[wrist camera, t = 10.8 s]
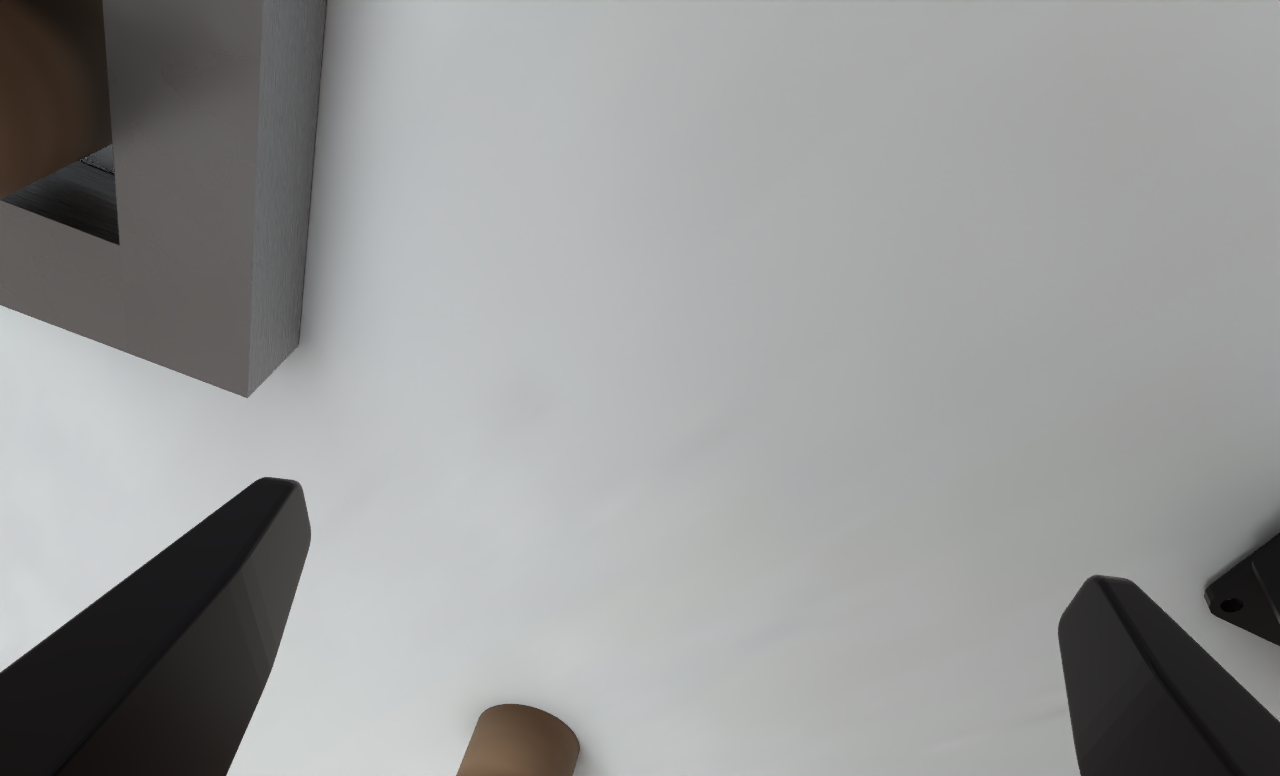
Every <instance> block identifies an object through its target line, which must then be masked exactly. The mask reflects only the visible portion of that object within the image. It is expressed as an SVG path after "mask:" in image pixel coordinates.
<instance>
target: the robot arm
mask: <svg viewBox="0 0 1280 776" xmlns="http://www.w3.org/2000/svg"><path fill="white" fill-rule="evenodd" d="M310 541H311V527H310V522H309V517H308V512H307V507H306V502H305V498H304V493H303V489H302V486H301V485H300V483H299V482H297V481H295V480H289V479H281V478H272V477H264V478H261V479H259V480H257V481H255V482H254V483H252V484H251V485H250V486H248V487H247V488H246V489H244V490H243V491H242V492H240V493H239V494H238V495H236V496H235V497H234V498H232V499H231V500H230V501H228V502H227V503H226V504H224V505H223V506H222V507H220V508H219V509H218V510H216V511H215V512H214V513H212V514H211V515H210V516H208V517H207V518H206V519H204V520H203V521H202V522H200V523H199V524H198V525H196V526H195V527H194V528H192V529H191V530H190V531H188V532H187V533H186V534H184V535H183V536H182V537H180V538H179V539H178V540H176V541H175V542H174V543H172V544H171V545H170V546H168V547H167V548H166V549H164V550H163V551H162V552H160V553H159V554H158V555H156V556H155V557H154V558H152V559H151V560H150V561H148V562H147V563H146V564H144V565H143V566H142V567H140V568H139V569H138V570H136V571H135V572H134V573H132V574H131V575H130V576H128V577H127V578H126V579H124V580H123V581H122V582H120V583H119V584H118V585H116V586H115V587H114V588H112V589H111V590H110V591H108V592H107V593H106V594H104V595H103V596H102V597H100V598H99V599H98V600H96V601H95V602H94V603H92V604H91V605H90V606H88V607H87V608H86V609H84V610H83V611H82V612H80V613H79V614H78V615H76V616H75V617H74V618H72V619H71V620H70V621H68V622H67V623H66V624H64V625H63V626H62V627H60V628H59V629H58V630H56V631H55V632H54V633H52V634H51V635H50V636H48V637H47V638H46V639H44V640H43V641H42V642H40V643H39V644H38V645H36V646H35V647H34V648H32V649H31V650H30V651H28V652H27V653H26V654H24V655H23V656H22V657H20V658H19V659H18V660H16V661H15V662H14V663H12V664H11V665H10V666H8V667H7V668H6V669H4V670H3V671H2V672H0V776H226V775H227V773H228V770H229V768H230V766H231V763H232V761H233V759H234V756H235V754H236V752H237V750H238V747H239V745H240V743H241V740H242V738H243V736H244V734H245V731H246V729H247V727H248V724H249V722H250V720H251V718H252V715H253V713H254V711H255V708H256V706H257V704H258V701H259V699H260V697H261V695H262V692H263V690H264V687H265V685H266V682H267V680H268V678H269V675H270V673H271V670H272V667H273V664H274V661H275V658H276V655H277V652H278V648H279V645H280V642H281V639H282V635H283V632H284V629H285V626H286V622H287V619H288V616H289V612H290V609H291V606H292V603H293V599H294V596H295V593H296V590H297V586H298V583H299V580H300V576H301V573H302V570H303V567H304V563H305V560H306V557H307V553H308V550H309V546H310ZM1204 597H1205V599H1206V602H1207V604H1208V606H1209V609H1210V611H1211V613H1213V614H1214V615H1215V616H1217V617H1219V618H1221V619H1223V620H1225V621H1227V622H1230V623H1232V624H1234V625H1236V626H1238V627H1240V628H1242V629H1244V630H1247V631H1249V632H1251V633H1253V634H1255V635H1257V636H1259V637H1262V638H1264V639H1266V640H1268V641H1270V642H1272V643H1274V644H1277V645H1279V646H1280V533H1279V534H1278V535H1277V536H1275V537H1274V538H1273V539H1271V540H1270V541H1269V542H1267V543H1266V544H1265V545H1263V546H1262V547H1261V548H1259V549H1258V550H1257V551H1255V552H1254V553H1253V554H1251V555H1250V556H1249V557H1247V558H1246V559H1245V560H1243V561H1242V562H1241V563H1239V564H1238V565H1237V566H1235V567H1234V568H1233V569H1231V570H1230V571H1229V572H1227V573H1226V574H1225V575H1223V576H1222V577H1220V578H1219V579H1218V580H1216V581H1215V582H1214V583H1212V584H1211V585H1210V586H1209V587H1208V588H1207V589H1206V590H1205V594H1204ZM1227 599H1231V600H1227ZM1058 638H1059V645H1060V652H1061V658H1062V665H1063V672H1064V678H1065V685H1066V692H1067V698H1068V705H1069V711H1070V718H1071V725H1072V731H1073V738H1074V744H1075V750H1076V755H1077V760H1078V765H1079V769H1080V774H1081V776H1280V722H1279V721H1278V720H1277V719H1276V718H1275V717H1274V716H1273V715H1272V714H1271V713H1270V712H1269V711H1268V710H1267V709H1265V708H1264V707H1263V706H1262V705H1261V704H1260V703H1259V702H1258V701H1257V700H1256V699H1255V698H1254V697H1253V696H1252V695H1251V694H1250V693H1249V692H1248V691H1247V690H1246V689H1245V688H1244V687H1243V686H1242V685H1240V684H1239V683H1238V682H1237V681H1236V680H1235V679H1234V678H1233V677H1232V676H1231V675H1230V674H1229V673H1228V672H1227V671H1226V670H1225V669H1224V668H1223V667H1222V666H1221V665H1220V664H1219V663H1218V662H1217V661H1215V660H1214V659H1213V658H1212V657H1211V656H1210V655H1209V654H1208V653H1207V652H1206V651H1205V650H1204V649H1203V648H1202V647H1201V646H1200V645H1199V644H1198V643H1197V642H1196V641H1195V640H1194V639H1193V638H1192V637H1190V636H1189V635H1188V634H1187V633H1186V632H1185V631H1184V630H1183V629H1182V628H1181V627H1180V626H1179V625H1178V624H1177V623H1176V622H1175V621H1174V620H1173V619H1172V618H1171V617H1170V616H1169V615H1168V614H1167V613H1165V612H1164V611H1163V610H1162V609H1161V608H1160V607H1159V606H1158V605H1157V604H1156V603H1155V602H1154V601H1153V600H1152V599H1151V598H1150V597H1149V596H1148V595H1147V594H1146V593H1145V592H1144V591H1143V590H1142V589H1140V588H1139V587H1138V586H1137V585H1136V584H1135V583H1134V582H1132V581H1130V580H1128V579H1125V578H1119V577H1111V576H1103V575H1093V576H1092V577H1090V578H1088V579H1087V580H1086V581H1085V582H1084V584H1083V585H1082V587H1081V588H1080V589H1079V591H1078V592H1077V594H1076V595H1075V597H1074V598H1073V600H1072V601H1071V603H1070V604H1069V605H1068V607H1067V608H1066V610H1065V611H1064V613H1063V614H1062V616H1061V619H1060V622H1059V627H1058Z"/></svg>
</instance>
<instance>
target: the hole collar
mask: <svg viewBox="0 0 1280 776" xmlns="http://www.w3.org/2000/svg"><path fill="white" fill-rule="evenodd" d="M102 1H103V16H104V30H105V44H106V58H107V72H108V86H109V100H110V114H111V129H112V143H113V157H114V171H115V175H113V174H110V173H108V172H105V171H102V170H100V169H97V168H95V167H92V166H89V165H87V164H84V163H81V162H79V161H76V162H74V163H72V164H70V165H68V166H66V167H64V168H62V169H60V170H58V171H56V172H54V173H52V174H50V175H48V176H46V177H44V178H42V179H40V180H38V181H36V182H34V183H32V184H30V185H28V186H26V187H24V188H22V189H20V190H18V191H16V192H14V193H12V194H10V195H8V196H6V197H4V198H2V199H0V305H2V306H5V307H7V308H10V309H12V310H15V311H18V312H20V313H23V314H26V315H28V316H31V317H34V318H36V319H39V320H42V321H44V322H47V323H50V324H52V325H55V326H58V327H60V328H63V329H66V330H68V331H71V332H73V333H76V334H79V335H81V336H84V337H87V338H89V339H92V340H95V341H97V342H100V343H103V344H105V345H108V346H111V347H113V348H116V349H119V350H121V351H124V352H127V353H129V354H132V355H134V356H137V357H140V358H142V359H145V360H148V361H150V362H153V363H156V364H158V365H161V366H164V367H166V368H169V369H172V370H174V371H177V372H180V373H182V374H185V375H188V376H190V377H193V378H195V379H198V380H201V381H203V382H206V383H209V384H211V385H214V386H217V387H219V388H222V389H225V390H227V391H230V392H233V393H235V394H238V395H241V396H243V397H246V398H248V397H249V396H250V395H251V394H252V393H253V392H254V391H255V390H256V389H257V388H258V387H259V386H260V385H261V384H262V383H263V382H264V381H265V380H266V379H267V378H268V377H269V376H270V375H271V374H272V372H273V371H274V370H275V369H276V368H277V367H278V366H279V365H280V364H281V363H282V362H283V361H284V360H285V359H286V358H287V357H288V356H289V355H290V354H291V353H292V352H293V351H294V350H295V349H296V348H297V347H298V343H299V331H300V318H301V306H302V294H303V282H304V270H305V257H306V245H307V233H308V221H309V209H310V196H311V184H312V172H313V160H314V148H315V135H316V123H317V111H318V99H319V87H320V74H321V62H322V50H323V38H324V26H325V13H326V1H327V0H102Z"/></svg>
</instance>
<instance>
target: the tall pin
mask: <svg viewBox="0 0 1280 776" xmlns="http://www.w3.org/2000/svg"><path fill="white" fill-rule="evenodd" d="M110 144H112V129H111V114H110V100H109V86H108V72H107V58H106V44H105V30H104V16H103V1H102V0H0V199H2V198H4V197H6V196H8V195H10V194H12V193H14V192H16V191H18V190H20V189H22V188H24V187H26V186H28V185H30V184H32V183H34V182H36V181H38V180H40V179H42V178H44V177H46V176H48V175H50V174H52V173H54V172H56V171H58V170H60V169H62V168H64V167H66V166H68V165H70V164H72V163H74V162H76V161H78V160H80V159H82V158H84V157H86V156H88V155H90V154H92V153H94V152H96V151H98V150H100V149H102V148H104V147H106V146H108V145H110Z"/></svg>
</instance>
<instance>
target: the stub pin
mask: <svg viewBox="0 0 1280 776" xmlns="http://www.w3.org/2000/svg"><path fill="white" fill-rule="evenodd" d="M579 749H580V746H579V742H578V739H577V737H576V735H575V734H574V732H573V731H572V730H571V729H570V728H569V727H568V726H567V725H566V724H565V723H564V722H562V721H561V720H560V719H558V718H557V717H555V716H553V715H551V714H549V713H547V712H545V711H542V710H540V709H537V708H534V707H530V706H526V705H519V704H502V705H497V706H493V707H491V708H489V709H487V710H485V711H484V712H483V713H482V714H481V716H480V717H479V720H478V722H477V725H476V727H475V730H474V732H473V735H472V737H471V740H470V742H469V745H468V747H467V750H466V753H465V755H464V758H463V760H462V763H461V765H460V768H459V770H458V773H457V775H456V776H572V775H573V772H574V768H575V765H576V761H577V758H578V754H579Z"/></svg>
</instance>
